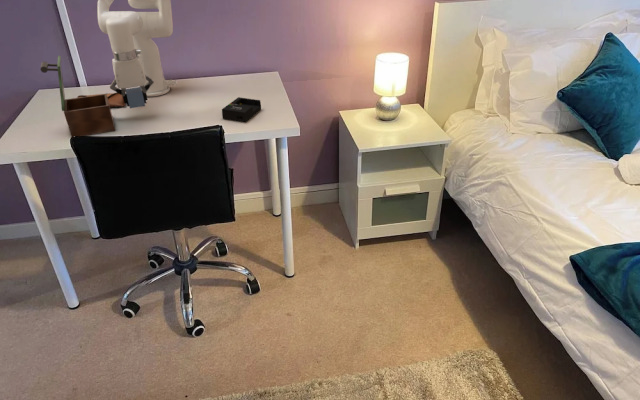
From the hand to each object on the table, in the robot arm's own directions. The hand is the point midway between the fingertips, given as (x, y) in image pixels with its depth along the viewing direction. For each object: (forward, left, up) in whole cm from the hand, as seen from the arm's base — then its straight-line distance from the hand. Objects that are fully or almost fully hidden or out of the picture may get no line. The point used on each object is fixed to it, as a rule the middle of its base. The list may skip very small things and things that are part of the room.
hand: (136, 103), depth 177 cm
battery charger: (-36, +14, -6) cm, 39 cm away
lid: (+22, +3, +12) cm, 25 cm away
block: (0, 0, 0) cm, 1 cm away
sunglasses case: (+12, -17, -6) cm, 22 cm away
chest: (+16, +3, -5) cm, 17 cm away
